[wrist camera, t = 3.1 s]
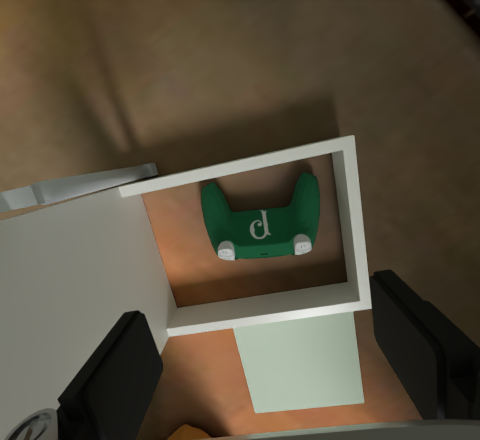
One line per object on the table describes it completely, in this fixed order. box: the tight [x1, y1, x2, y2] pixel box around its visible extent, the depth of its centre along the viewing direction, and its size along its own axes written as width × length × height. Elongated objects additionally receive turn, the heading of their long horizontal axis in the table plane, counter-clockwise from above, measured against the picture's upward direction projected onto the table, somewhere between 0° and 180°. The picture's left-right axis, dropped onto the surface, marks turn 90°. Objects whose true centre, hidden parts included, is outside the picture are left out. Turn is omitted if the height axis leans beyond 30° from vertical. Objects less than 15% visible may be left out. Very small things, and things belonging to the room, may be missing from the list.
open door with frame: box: [0, 135, 372, 440], centre depth 14 cm, size 18×14×17 cm
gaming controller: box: [201, 172, 320, 260], centre depth 21 cm, size 9×4×6 cm
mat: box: [233, 311, 364, 413], centre depth 25 cm, size 11×11×1 cm
